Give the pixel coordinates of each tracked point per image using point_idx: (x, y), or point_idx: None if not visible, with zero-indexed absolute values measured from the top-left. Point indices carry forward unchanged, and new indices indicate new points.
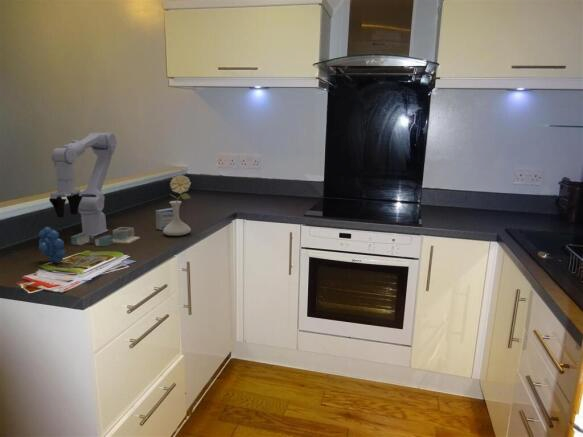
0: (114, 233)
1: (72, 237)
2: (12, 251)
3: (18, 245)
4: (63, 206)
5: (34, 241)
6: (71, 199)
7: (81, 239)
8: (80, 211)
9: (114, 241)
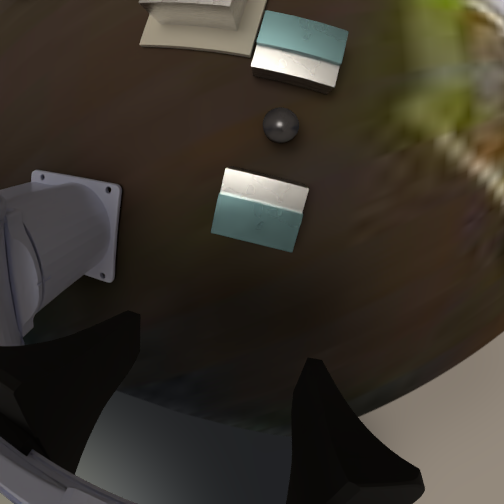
0: (235, 6)
1: (294, 240)
2: (365, 401)
3: (285, 420)
4: (342, 425)
5: (229, 400)
6: (68, 436)
7: (295, 184)
8: (26, 322)
9: (260, 20)
